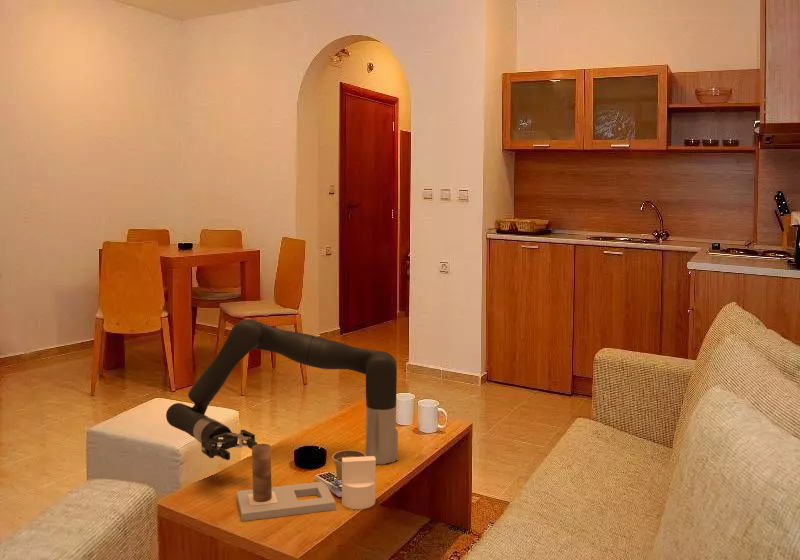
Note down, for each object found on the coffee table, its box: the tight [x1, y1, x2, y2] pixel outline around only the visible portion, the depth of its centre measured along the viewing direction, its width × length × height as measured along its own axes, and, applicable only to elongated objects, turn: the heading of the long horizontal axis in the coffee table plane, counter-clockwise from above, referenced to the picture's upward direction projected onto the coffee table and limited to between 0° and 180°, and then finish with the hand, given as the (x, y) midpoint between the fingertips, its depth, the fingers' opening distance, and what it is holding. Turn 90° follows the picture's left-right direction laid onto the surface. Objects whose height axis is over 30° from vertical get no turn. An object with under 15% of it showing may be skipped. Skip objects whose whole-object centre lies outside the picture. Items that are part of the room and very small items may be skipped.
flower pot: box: [331, 449, 366, 480], centre depth 205 cm, size 9×9×9 cm
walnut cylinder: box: [251, 443, 273, 502], centre depth 191 cm, size 5×5×14 cm
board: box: [236, 481, 337, 522], centre depth 194 cm, size 24×14×2 cm, turn 108°
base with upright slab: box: [341, 456, 377, 510], centre depth 195 cm, size 9×9×12 cm
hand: (242, 451), depth 198 cm, fingers open, 8 cm apart
